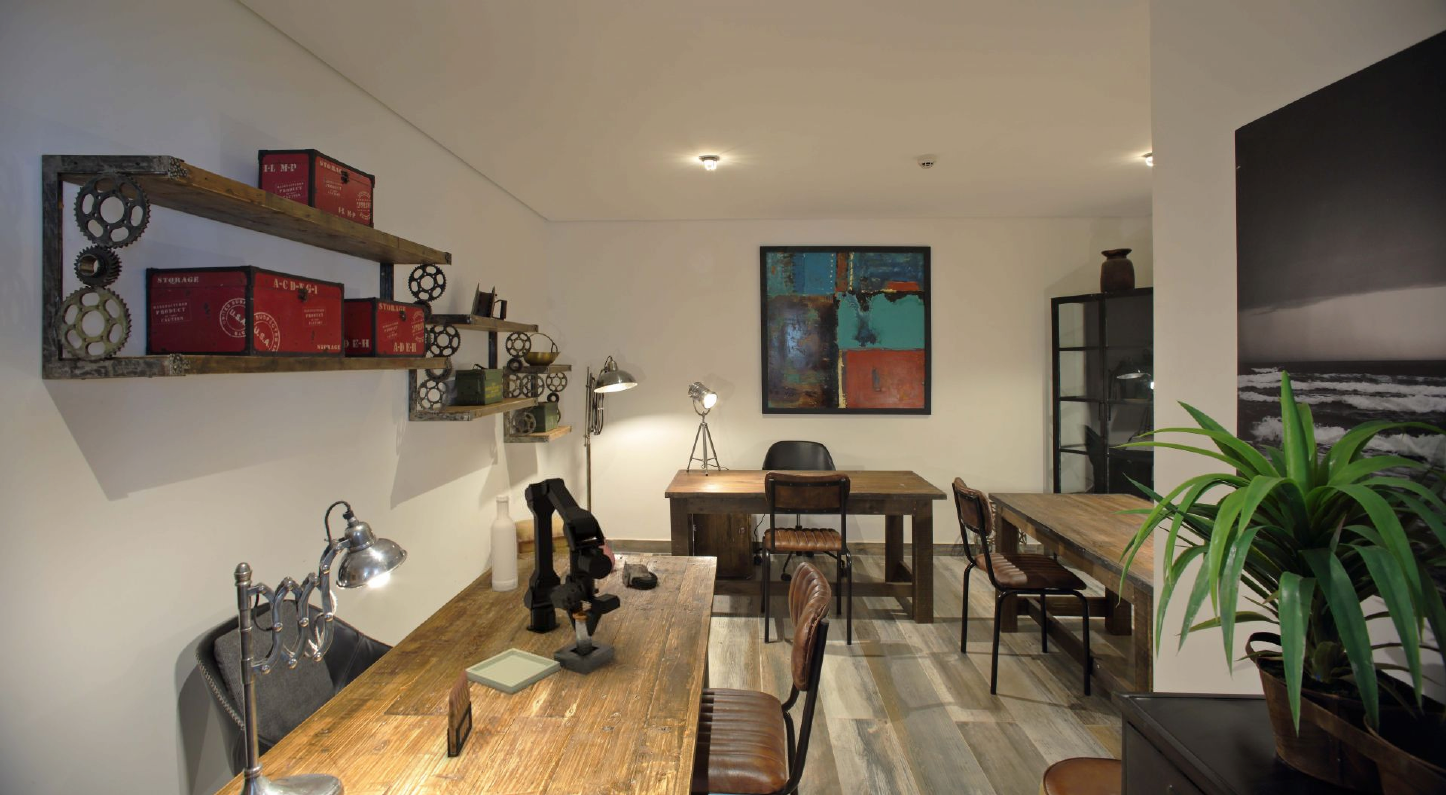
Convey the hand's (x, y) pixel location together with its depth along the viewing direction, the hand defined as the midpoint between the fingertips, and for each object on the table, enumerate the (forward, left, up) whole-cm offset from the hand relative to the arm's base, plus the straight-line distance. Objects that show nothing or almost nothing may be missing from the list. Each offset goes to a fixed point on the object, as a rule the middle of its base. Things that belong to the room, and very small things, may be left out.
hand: (584, 634), depth 159 cm
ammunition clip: (+4, -37, -7) cm, 38 cm away
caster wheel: (-25, +51, -7) cm, 57 cm away
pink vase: (-45, +56, -7) cm, 72 cm away
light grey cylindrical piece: (0, 0, -4) cm, 4 cm away
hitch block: (0, 0, -7) cm, 7 cm away
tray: (-10, -13, -7) cm, 18 cm away
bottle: (-61, +27, -7) cm, 68 cm away
